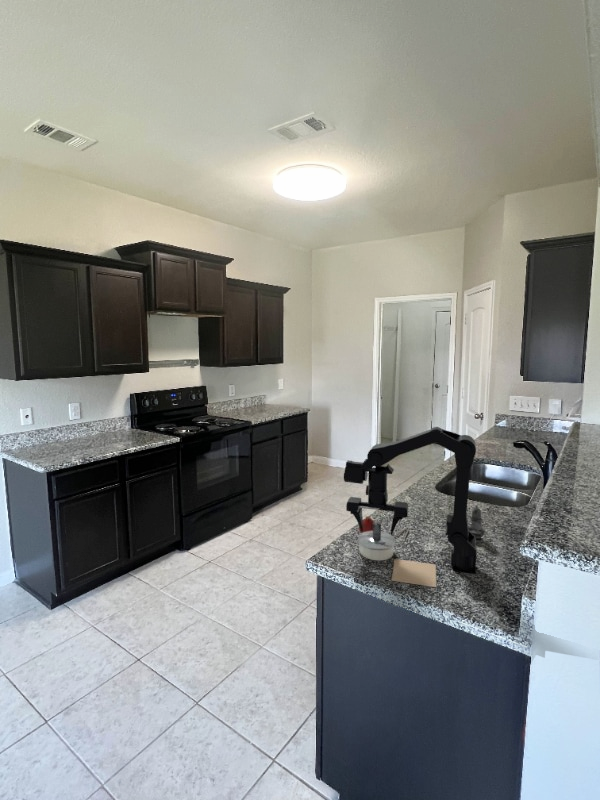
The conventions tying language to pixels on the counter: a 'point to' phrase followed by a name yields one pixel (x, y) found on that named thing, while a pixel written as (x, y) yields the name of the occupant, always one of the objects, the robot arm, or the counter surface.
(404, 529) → the tweezers
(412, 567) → the mat
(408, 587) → the counter surface
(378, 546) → the lid
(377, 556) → the bowl
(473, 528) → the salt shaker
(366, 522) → the onion
